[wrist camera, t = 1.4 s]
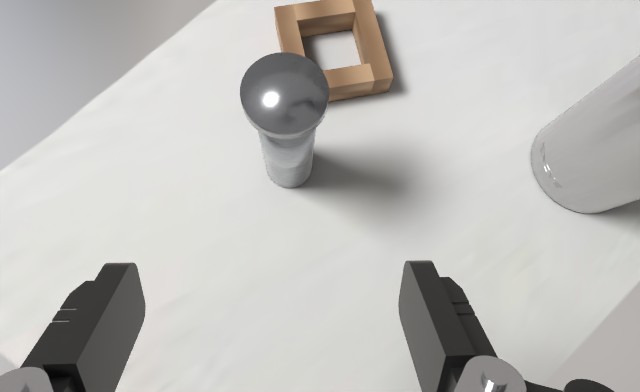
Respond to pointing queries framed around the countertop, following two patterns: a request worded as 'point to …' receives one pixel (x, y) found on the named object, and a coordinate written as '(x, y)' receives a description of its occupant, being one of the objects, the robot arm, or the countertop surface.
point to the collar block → (332, 16)
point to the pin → (285, 112)
